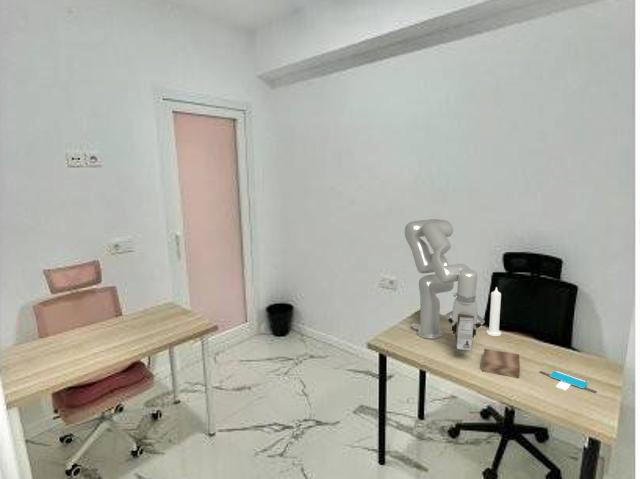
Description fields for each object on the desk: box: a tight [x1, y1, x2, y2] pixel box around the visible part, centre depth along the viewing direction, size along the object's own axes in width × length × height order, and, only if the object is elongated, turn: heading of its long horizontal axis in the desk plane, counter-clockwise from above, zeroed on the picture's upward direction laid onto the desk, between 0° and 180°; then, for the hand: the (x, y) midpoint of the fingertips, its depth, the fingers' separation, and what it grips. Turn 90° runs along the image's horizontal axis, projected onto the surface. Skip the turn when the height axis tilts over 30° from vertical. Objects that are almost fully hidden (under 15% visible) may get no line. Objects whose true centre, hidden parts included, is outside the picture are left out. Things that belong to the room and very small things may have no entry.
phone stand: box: [539, 369, 597, 394], centre depth 154 cm, size 20×12×2 cm, turn 41°
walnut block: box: [481, 348, 521, 380], centre depth 166 cm, size 14×12×5 cm
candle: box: [485, 286, 502, 337], centre depth 194 cm, size 7×7×25 cm
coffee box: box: [454, 314, 474, 351], centre depth 170 cm, size 9×6×16 cm
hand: (463, 334), depth 171 cm, fingers closed on coffee box, 7 cm apart
